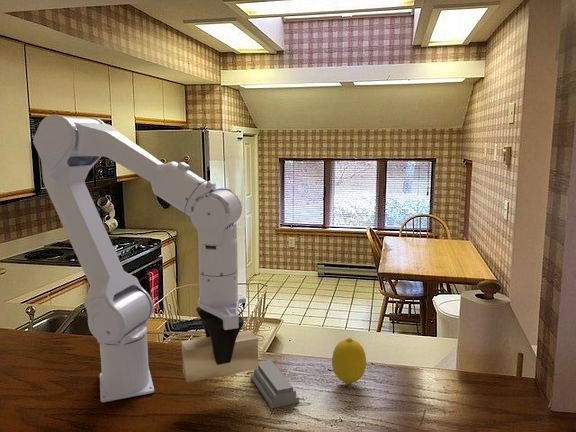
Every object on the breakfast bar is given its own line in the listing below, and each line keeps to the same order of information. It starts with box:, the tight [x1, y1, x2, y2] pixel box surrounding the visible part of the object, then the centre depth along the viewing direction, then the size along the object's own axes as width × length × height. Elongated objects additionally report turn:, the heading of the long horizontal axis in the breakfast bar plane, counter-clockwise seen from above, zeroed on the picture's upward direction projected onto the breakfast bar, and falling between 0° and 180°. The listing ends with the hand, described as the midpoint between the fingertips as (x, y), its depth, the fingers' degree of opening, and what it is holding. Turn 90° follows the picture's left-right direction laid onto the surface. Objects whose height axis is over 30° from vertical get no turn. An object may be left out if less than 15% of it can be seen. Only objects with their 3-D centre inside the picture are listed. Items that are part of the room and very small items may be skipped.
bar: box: [181, 329, 259, 383], centre depth 74 cm, size 4×11×5 cm, turn 112°
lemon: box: [331, 337, 367, 386], centre depth 79 cm, size 6×6×8 cm
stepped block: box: [250, 359, 300, 409], centre depth 77 cm, size 10×4×3 cm, turn 22°
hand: (219, 356), depth 74 cm, fingers closed on bar, 3 cm apart
